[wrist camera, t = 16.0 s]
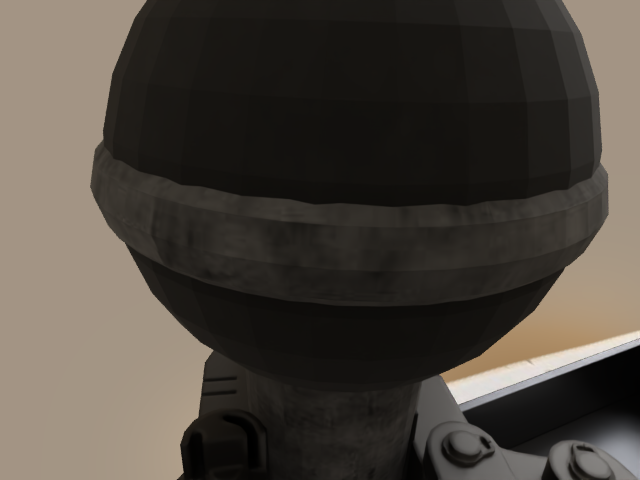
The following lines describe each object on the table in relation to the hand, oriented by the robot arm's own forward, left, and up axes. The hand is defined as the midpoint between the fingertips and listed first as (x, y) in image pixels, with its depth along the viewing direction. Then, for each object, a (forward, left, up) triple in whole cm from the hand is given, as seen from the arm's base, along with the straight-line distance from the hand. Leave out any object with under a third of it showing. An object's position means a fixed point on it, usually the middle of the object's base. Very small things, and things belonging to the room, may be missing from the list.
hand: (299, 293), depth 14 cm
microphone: (+2, +5, -11) cm, 13 cm away
